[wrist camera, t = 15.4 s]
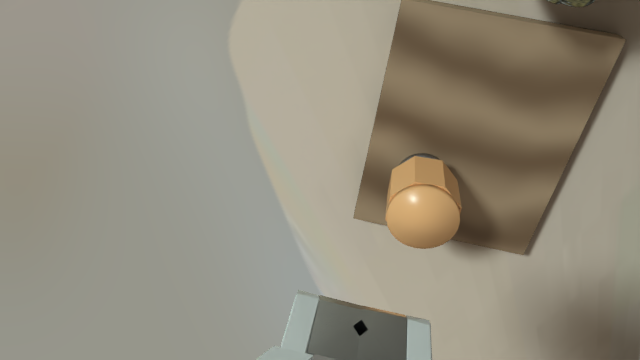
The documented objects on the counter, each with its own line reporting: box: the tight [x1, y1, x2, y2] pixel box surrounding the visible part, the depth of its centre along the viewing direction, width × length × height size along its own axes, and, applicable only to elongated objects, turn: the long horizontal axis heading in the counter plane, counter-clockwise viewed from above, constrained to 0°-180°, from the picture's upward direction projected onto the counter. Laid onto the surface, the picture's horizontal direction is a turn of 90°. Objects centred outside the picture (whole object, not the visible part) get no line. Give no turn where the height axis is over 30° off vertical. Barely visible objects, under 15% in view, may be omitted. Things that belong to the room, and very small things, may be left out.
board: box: [354, 0, 626, 255], centre depth 40 cm, size 20×16×2 cm
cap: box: [385, 156, 462, 249], centre depth 38 cm, size 5×5×5 cm
